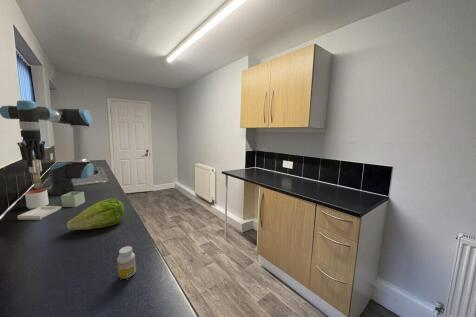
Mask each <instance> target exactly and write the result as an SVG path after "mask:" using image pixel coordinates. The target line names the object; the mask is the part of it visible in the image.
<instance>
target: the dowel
mask: <svg viewBox="0 0 476 317" xmlns="http://www.w3.org/2000/svg"><path fill="white" fill-rule="evenodd" d="M33 161H34V162H35V170H36V172H35V173H32V179H33V180H32V181H33V188H34V189H42V186H43V185H42V178H41V171H40V170H39V162H38V160H36V159H33Z"/></svg>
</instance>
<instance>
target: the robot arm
mask: <svg viewBox="0 0 476 317" xmlns="http://www.w3.org/2000/svg"><path fill="white" fill-rule="evenodd" d="M0 116H1V117H2V118H3V119H6V120H7V119H8V120H18V121H19V124H18V125H19V129H20V136H21V138H22V141H20V142H17V146H18V147H19V151H20V155H21V159H22V161H25V162H26V164H27V167H28V170H29V173H35V172H36V170H35V162H34V161H33V160H34V158H33V157H35V160H38V162H39V170H40V172H43V168H42V165H43V162H42V160H44V159H45V158H46V156H45V151H46V150H45V144H46V141H44V140H41V138H40V137H42V136H41V131H40V130H41V127H40V121H44V122H45V121H48V122H51V123H55V124H57V123H58V124H65V125H70V128H72V142H73V144H72V146H73V160H72V161H71V162H70V161H63V162H57V163H53V164H51V165H50V170H49V172H50V177H51V183H52V184H51V188H50V190H49V194H50V196H51V195H52V196H62V195H64V194H67V193H69V192H77V188H76V186H75V184H74V183H73V179H74V180H77V179H78V180H79V179H82V180H84V179H90V178H91V177H92V176H93V174H94V172H95V167H94V164H93V163H91V160H89V154H88V152H89V151H88V129H90V125H92V124H93V116H92V113H90V111H89V110H88V109H85V108H84V109H83V108H57V109H56V108H49V107H46V106H38V105H37V102H36V101H31V100H17V101H16V105H2V106H1V107H0ZM33 154H34V156H33Z"/></svg>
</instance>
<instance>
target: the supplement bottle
mask: <svg viewBox="0 0 476 317" xmlns="http://www.w3.org/2000/svg"><path fill="white" fill-rule="evenodd" d="M118 254H119V255H118V257H117V259H116V260H117V264H116V265H117V273H118V278H119V277H121V278H127V277H130V276H132V275H134V274H135V272H136V273H137V267H136V266H137V264H136V255H135V253H134V252H133V247H132V246H130V245H128V246H123V247H122V248H120V249H119V252H118ZM135 275H136V274H135ZM135 275H134V276H135Z"/></svg>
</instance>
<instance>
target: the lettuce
mask: <svg viewBox="0 0 476 317" xmlns="http://www.w3.org/2000/svg"><path fill="white" fill-rule="evenodd" d="M124 215H125V207H124V204H123V202H122V201H121V200H119V199H118V198H107V199H103V200H101V201H98V202H96V203H94V204H92V205H91V206H88V207H87V208H86V209H84V210H82V211H81V212H80V213H78V214H77V215H75V216H74V217H73V218H71V219H70V220H68V221H67V222H66V227H67V229H68V230H69V231H77V230H92V229H93V230H94V229H103V228H107V227H111V226H115V225H117V224H119V223H120V221H122V220H123V219H124V218H123V217H124Z"/></svg>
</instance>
